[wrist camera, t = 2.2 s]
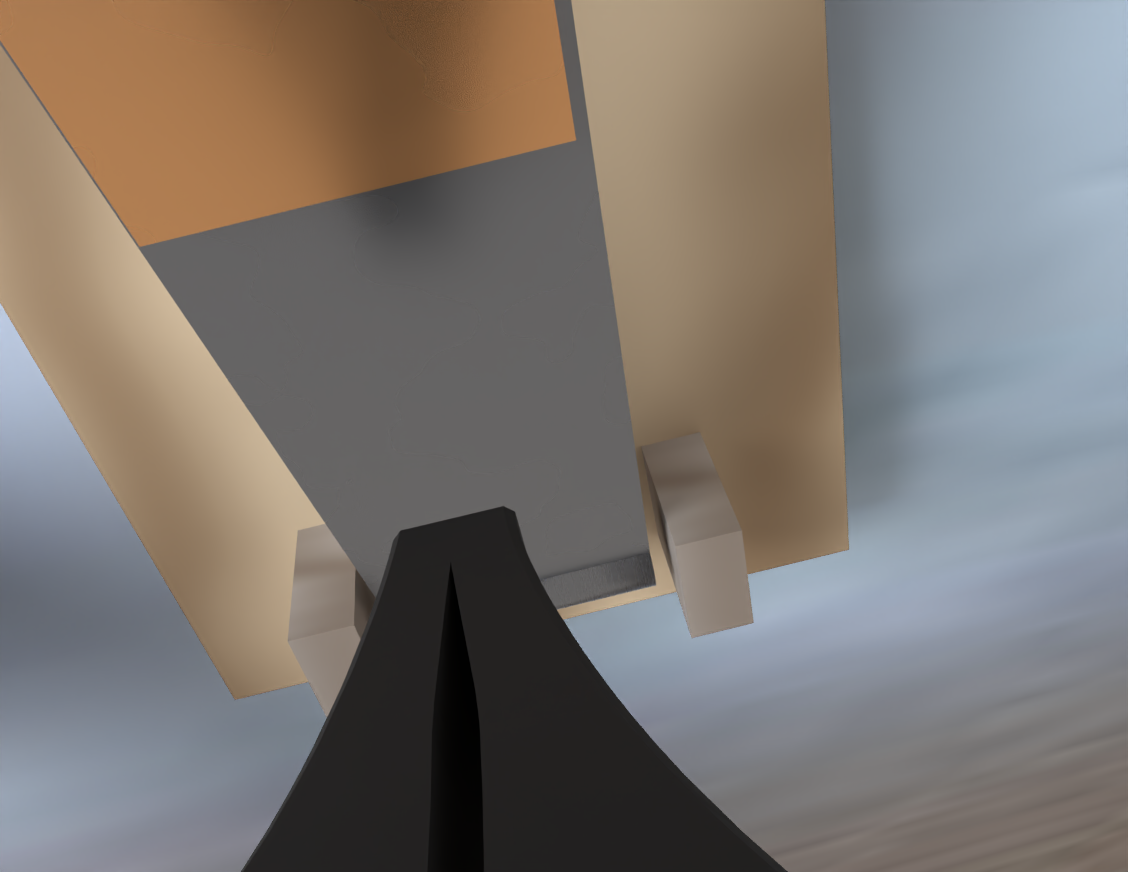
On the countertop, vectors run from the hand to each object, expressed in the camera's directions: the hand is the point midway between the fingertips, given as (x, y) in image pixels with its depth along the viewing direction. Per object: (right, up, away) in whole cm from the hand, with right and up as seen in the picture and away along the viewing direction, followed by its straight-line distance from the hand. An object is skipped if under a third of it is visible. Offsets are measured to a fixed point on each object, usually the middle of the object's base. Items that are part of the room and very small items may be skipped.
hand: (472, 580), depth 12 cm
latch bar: (-1, +3, +3) cm, 4 cm away
